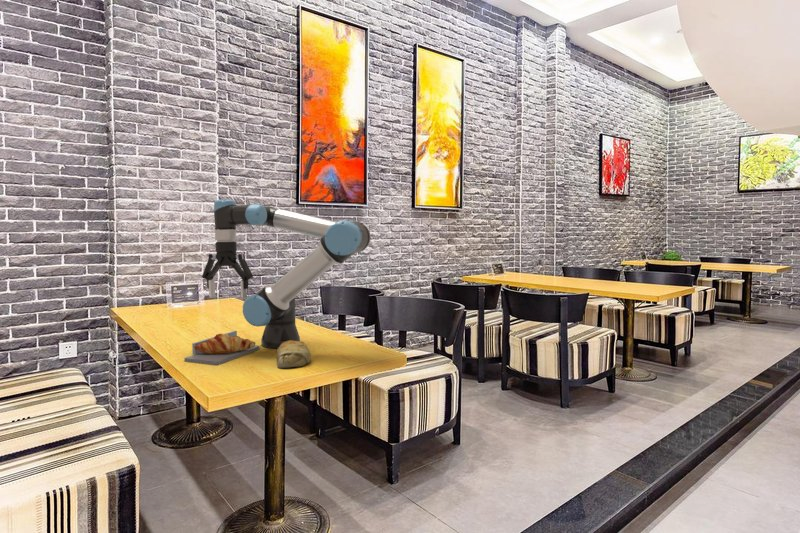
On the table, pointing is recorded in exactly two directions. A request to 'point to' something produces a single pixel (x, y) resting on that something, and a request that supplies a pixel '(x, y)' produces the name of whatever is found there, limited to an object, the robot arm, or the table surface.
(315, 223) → the robot arm
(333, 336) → the table surface
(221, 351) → the croissant
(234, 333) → the divider
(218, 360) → the serving plate
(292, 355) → the pastry
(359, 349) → the table surface
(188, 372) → the table surface
